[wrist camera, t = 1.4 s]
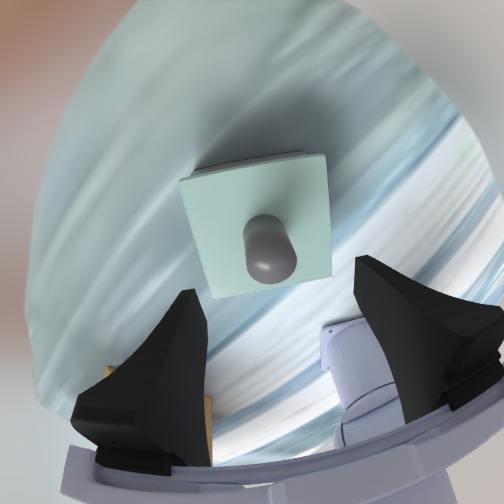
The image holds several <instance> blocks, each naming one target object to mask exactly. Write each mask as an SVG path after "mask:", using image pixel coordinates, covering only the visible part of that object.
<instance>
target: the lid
mask: <svg viewBox="0 0 504 504" xmlns="http://www.w3.org/2000/svg"><path fill="white" fill-rule="evenodd" d="M178 183H179V187H180V191H181V194H182V198H183V202H184V205H185V209H186V212H187V216H188V219H189V223H190V226H191V230H192V233H193V236H194V240H195V243H196V246H197V250H198V253H199V256H200V259H201V262H202V266H203V269H204V272H205V275H206V278H207V281H208V284H209V287H210V290H211V293H212V296H213V299H218V298H224V297H229V296H235V295H241V294H246V293H252V292H257V291H262V290H268V289H273V288H278V287H283V286H288V285H293V284H298V283H303V282H308V281H313V280H317V279H322V278H327V277H331V276H332V253H331V225H330V206H329V192H328V179H327V168H326V157H325V155H324V154H322V153H319V154H311V155H303V156H296V157H289V158H282V159H276V160H270V161H264V162H258V163H252V164H247V165H242V166H236V167H231V168H226V169H222V170H217V171H212V172H208V173H203V174H199V175H194V176H190V177H186V178H182V179H180V180H179V182H178Z"/></svg>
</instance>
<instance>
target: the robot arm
mask: <svg viewBox="0 0 504 504" xmlns="http://www.w3.org/2000/svg"><path fill="white" fill-rule="evenodd" d="M354 296H355V298H356V301H357V303H358V305H359V308H360V310H361V312H362V314H363V316H364V317H363V318H359V319H356V320H352V321H348V322H344V323H340V324H336V325H332V326H328V327H324V328H323V329H322V330H321V370H322V371H326V370H330V371H331V374H332V377H333V380H334V383H335V386H336V389H337V392H338V395H339V398H340V401H341V404H342V408H343V411H344V412H342V413H340V417H341V420H342V422H341V423H338V424H337V426H336V429H335V431H334V435H333V440H334V446H335V449H334V450H330V451H326V452H322V453H318V454H313V455H309V456H304V457H299V458H294V459H288V460H282V461H276V462H268V463H260V464H251V465H240V466H224V467H211V462H210V456H209V449H208V442H207V433H206V422H205V408H204V378H205V367H206V356H207V345H208V331H207V320H206V318H205V315H204V313H203V310H202V307H201V305H200V302H199V299H198V297H197V294H196V291H195V289H189V290H183V291H181V292H180V293H179V295H178V296H177V298H176V299H175V301H174V302H173V304H172V305H171V307H170V308H169V310H168V311H167V312H166V314H165V315H164V317H163V318H162V320H161V321H160V322H159V324H158V325H157V326H156V327H155V329H154V330H153V331H152V333H151V334H150V335H149V337H148V338H147V339H146V340H145V341H144V342H143V344H142V345H141V346H140V347H139V348H138V349H137V350H136V351H135V352H134V353H133V354H132V355H131V356H130V357H129V358H128V359H127V360H126V361H125V362H124V363H122V364H121V365H120V366H119V367H118V368H117V369H116V370H114V371H113V372H112V373H111V374H109V375H108V376H107V377H105V378H104V379H103V380H101V381H100V382H99V383H97V384H96V385H94V386H92V387H91V388H89V389H88V390H86V391H84V392H83V393H81V394H79V395H78V398H77V401H76V404H75V407H74V410H73V413H72V417H71V420H70V422H71V425H72V426H73V428H74V429H75V430H76V431H77V432H79V433H80V434H81V435H83V436H84V437H86V438H87V439H88V440H90V441H91V442H92V443H94V444H95V445H97V446H98V449H97V452H95V451H93V450H90V449H86V448H82V447H78V446H74V445H70V446H69V450H68V454H67V459H66V463H65V468H64V473H63V479H62V484H61V491H60V492H61V494H63V495H65V496H68V497H70V498H72V499H75V500H78V501H80V502H83V503H86V504H458V503H457V500H456V497H455V494H454V491H453V488H452V485H451V482H450V480H449V477H448V474H447V471H446V468H448V467H449V466H451V465H452V464H454V463H456V462H457V461H459V460H460V459H462V458H464V457H465V456H467V455H468V454H470V453H471V452H472V451H474V450H475V449H477V448H478V447H479V446H481V445H482V444H483V443H485V442H486V441H487V440H489V439H490V438H491V437H493V435H495V434H496V433H498V432H499V431H500V430H501V429H502V428H504V362H503V363H502V364H501V363H500V361H499V359H500V358H501V354H500V353H499V351H498V349H499V347H500V346H501V344H502V342H503V340H504V311H503V309H502V308H501V307H500V306H493V305H486V304H480V303H475V302H470V301H466V300H462V299H459V298H456V297H452V296H449V295H446V294H444V293H441V292H438V291H436V290H433V289H431V288H429V287H426V286H424V285H422V284H420V283H418V282H416V281H414V280H412V279H410V278H408V277H406V276H405V275H403V274H401V273H399V272H397V271H396V270H394V269H392V268H390V267H389V266H387V265H385V264H384V263H382V262H380V261H378V260H376V259H375V258H373V257H371V256H369V255H364V256H359V257H355V276H354ZM269 482H274V483H273V484H272V485H266V486H259V487H253V488H245V487H243V486H242V485H250V484H261V483H269Z"/></svg>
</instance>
